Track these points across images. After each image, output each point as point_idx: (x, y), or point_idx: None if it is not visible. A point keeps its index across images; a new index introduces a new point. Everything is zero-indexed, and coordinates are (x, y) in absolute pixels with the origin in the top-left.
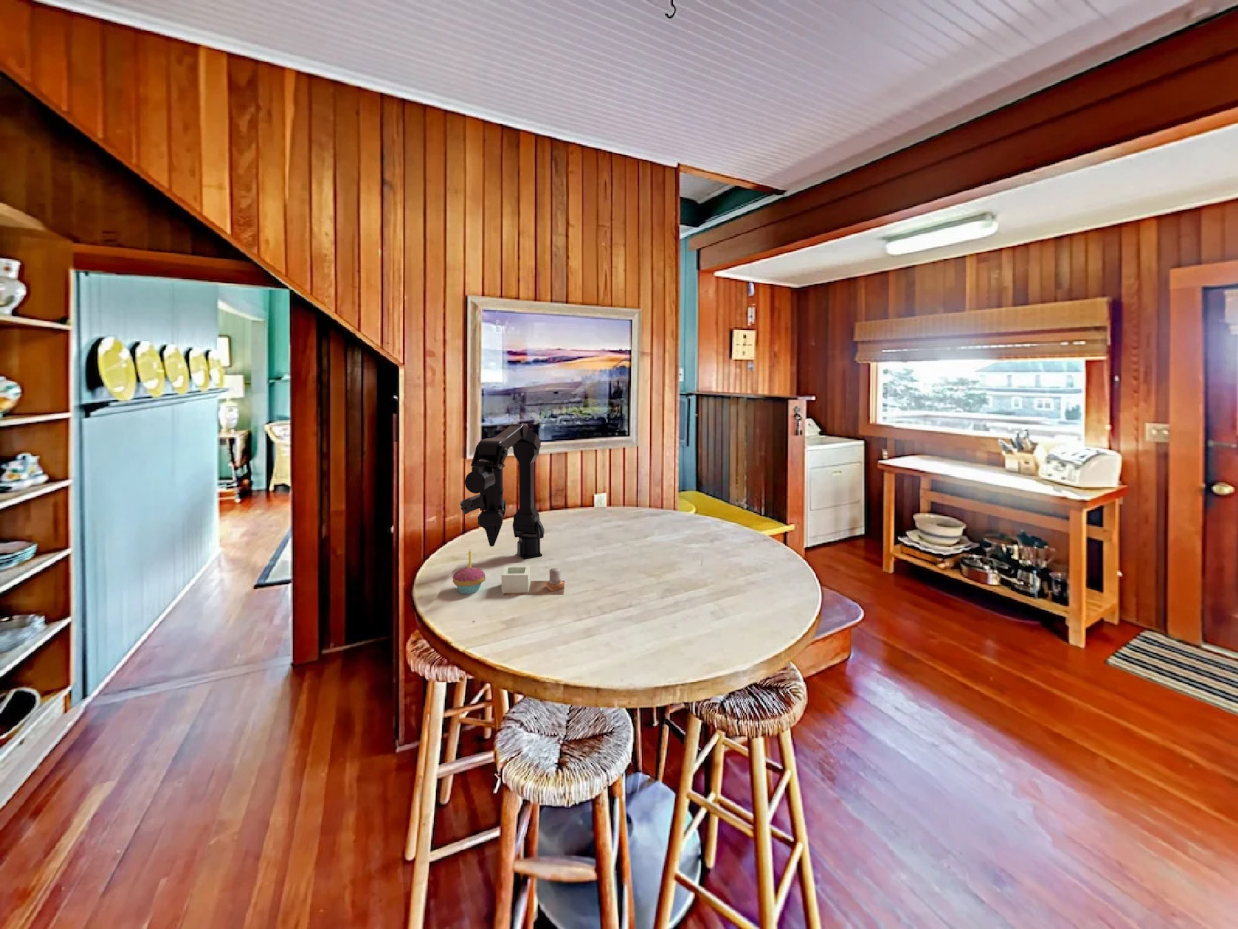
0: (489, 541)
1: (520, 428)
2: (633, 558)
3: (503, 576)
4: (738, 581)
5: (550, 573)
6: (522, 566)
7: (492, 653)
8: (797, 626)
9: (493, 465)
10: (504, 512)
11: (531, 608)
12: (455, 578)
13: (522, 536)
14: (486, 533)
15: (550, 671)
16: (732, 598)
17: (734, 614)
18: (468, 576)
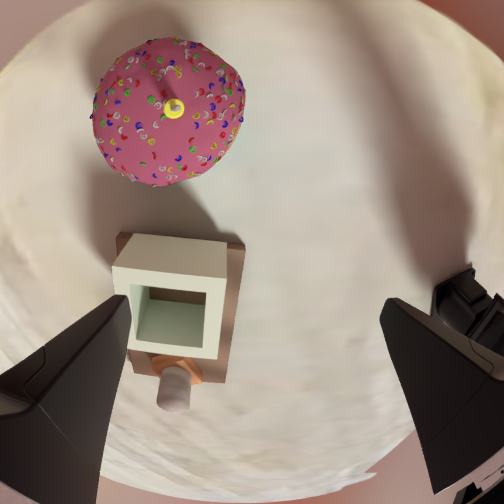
0: (86, 321)
1: None
2: (332, 443)
3: (113, 270)
4: (212, 487)
5: (162, 391)
6: (212, 338)
7: None
8: (106, 476)
9: None
10: (436, 492)
11: (71, 302)
12: (120, 57)
13: (484, 317)
14: (20, 362)
15: None
16: (161, 478)
17: (119, 468)
18: (97, 119)
